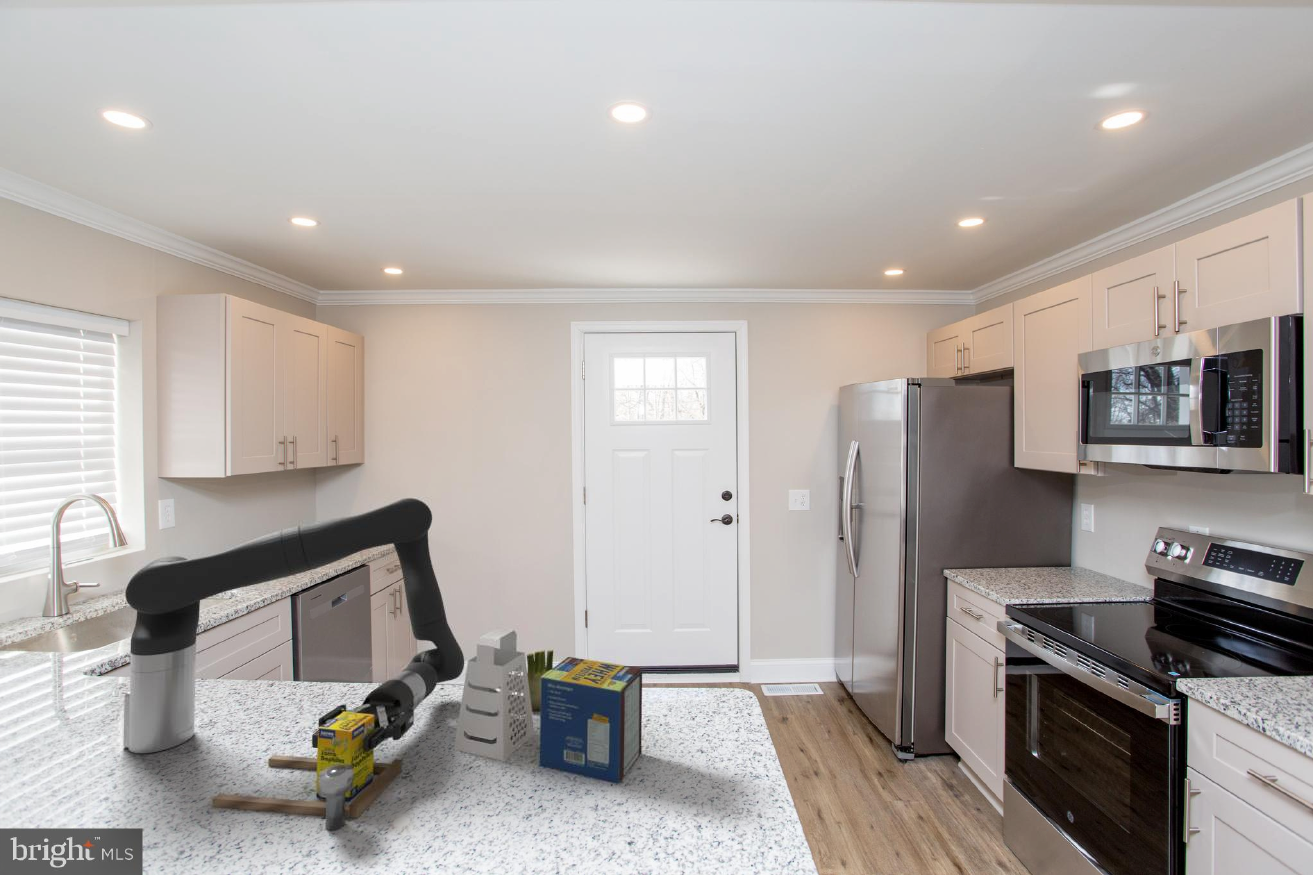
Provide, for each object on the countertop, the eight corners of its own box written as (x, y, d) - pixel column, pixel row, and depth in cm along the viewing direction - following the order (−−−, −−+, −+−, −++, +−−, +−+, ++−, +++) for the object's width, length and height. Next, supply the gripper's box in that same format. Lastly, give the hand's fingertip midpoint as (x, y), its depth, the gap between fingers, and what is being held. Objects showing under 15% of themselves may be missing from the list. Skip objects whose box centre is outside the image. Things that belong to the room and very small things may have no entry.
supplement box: (349, 802, 90) (351, 731, 90) (314, 798, 91) (316, 727, 91) (374, 780, 96) (375, 713, 96) (341, 776, 97) (343, 710, 97)
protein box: (566, 737, 111) (567, 655, 111) (642, 753, 106) (643, 667, 106) (537, 766, 101) (539, 676, 101) (619, 785, 96) (621, 690, 96)
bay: (212, 806, 89) (212, 793, 89) (273, 761, 101) (273, 750, 101) (357, 818, 86) (357, 804, 86) (401, 771, 99) (401, 759, 99)
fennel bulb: (553, 702, 126) (554, 646, 126) (552, 713, 121) (553, 654, 121) (525, 703, 125) (526, 647, 125) (523, 714, 120) (524, 655, 120)
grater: (534, 732, 112) (536, 628, 113) (503, 760, 103) (505, 646, 103) (488, 723, 116) (490, 622, 116) (453, 749, 106) (455, 638, 106)
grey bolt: (310, 834, 83) (311, 777, 83) (330, 814, 87) (331, 760, 87) (339, 836, 82) (340, 779, 82) (358, 816, 87) (359, 762, 87)
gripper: (359, 676, 109) (297, 717, 93) (433, 680, 107) (383, 723, 91) (359, 716, 109) (297, 764, 93) (432, 721, 107) (382, 771, 91)
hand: (339, 744), depth 92 cm, fingers open, 8 cm apart
